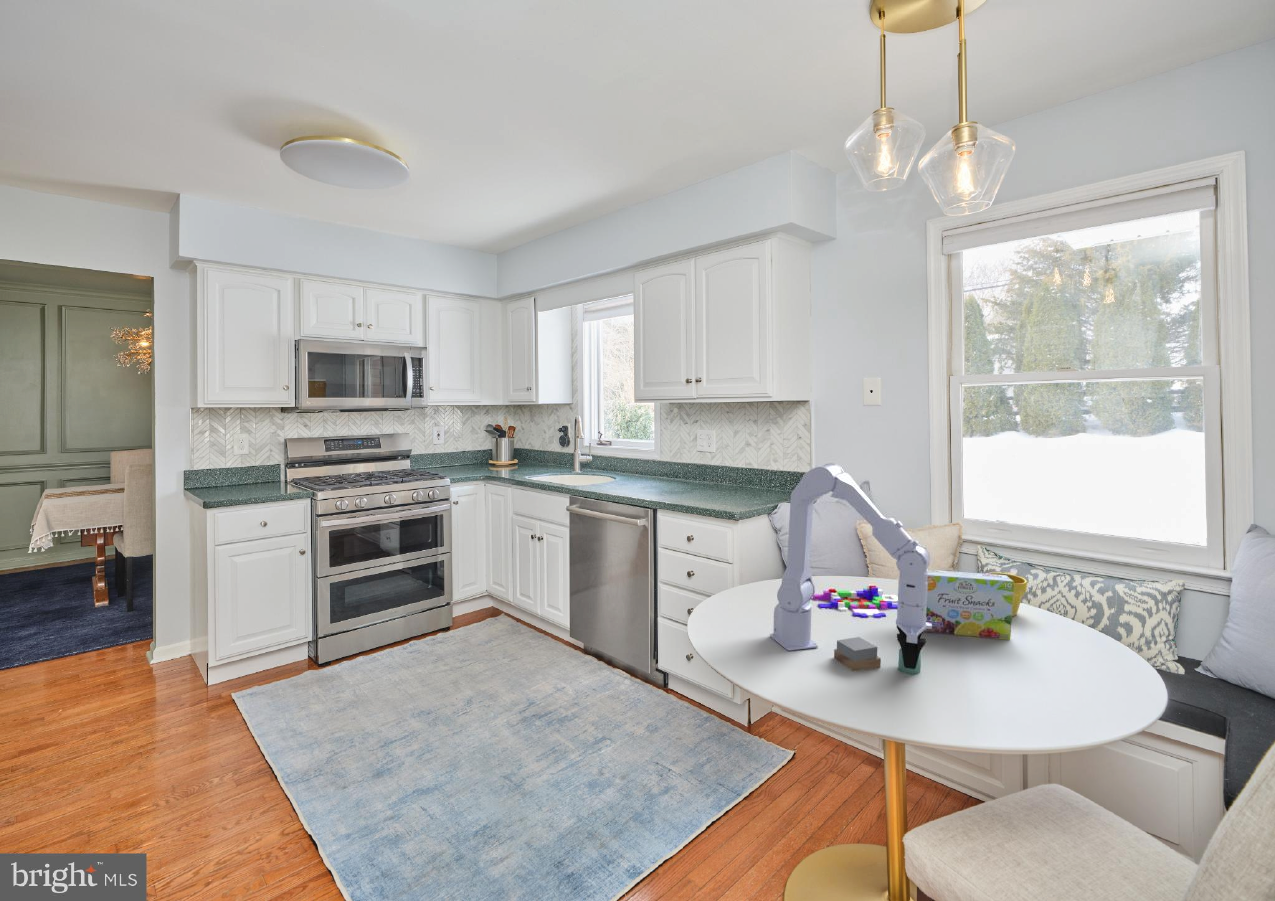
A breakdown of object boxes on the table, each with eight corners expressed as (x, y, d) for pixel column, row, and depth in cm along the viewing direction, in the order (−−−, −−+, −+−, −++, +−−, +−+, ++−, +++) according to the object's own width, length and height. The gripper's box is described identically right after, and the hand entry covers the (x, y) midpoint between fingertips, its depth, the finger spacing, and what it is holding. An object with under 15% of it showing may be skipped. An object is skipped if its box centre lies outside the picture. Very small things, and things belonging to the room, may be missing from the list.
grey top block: (836, 651, 138) (837, 640, 138) (858, 647, 140) (858, 636, 140) (854, 661, 133) (854, 650, 133) (877, 657, 135) (877, 646, 135)
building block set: (827, 619, 165) (828, 603, 165) (808, 594, 185) (808, 580, 185) (921, 620, 165) (922, 603, 164) (891, 595, 185) (892, 580, 185)
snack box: (917, 632, 155) (920, 573, 153) (913, 624, 160) (915, 567, 159) (1011, 640, 150) (1015, 580, 148) (1003, 632, 155) (1007, 573, 154)
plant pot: (1018, 622, 162) (1020, 585, 161) (975, 611, 169) (977, 577, 168) (1030, 612, 169) (1032, 577, 168) (988, 603, 176) (990, 569, 175)
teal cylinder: (893, 666, 135) (894, 648, 135) (910, 664, 136) (911, 646, 136) (907, 675, 131) (908, 656, 131) (924, 672, 132) (925, 654, 132)
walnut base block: (834, 659, 140) (834, 649, 139) (860, 656, 142) (861, 645, 141) (852, 673, 133) (852, 661, 133) (880, 669, 135) (880, 658, 135)
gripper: (934, 615, 124) (931, 680, 125) (930, 594, 137) (928, 653, 139) (896, 611, 127) (894, 674, 128) (896, 590, 140) (894, 648, 141)
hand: (909, 663), depth 133 cm, fingers closed on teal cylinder, 4 cm apart
